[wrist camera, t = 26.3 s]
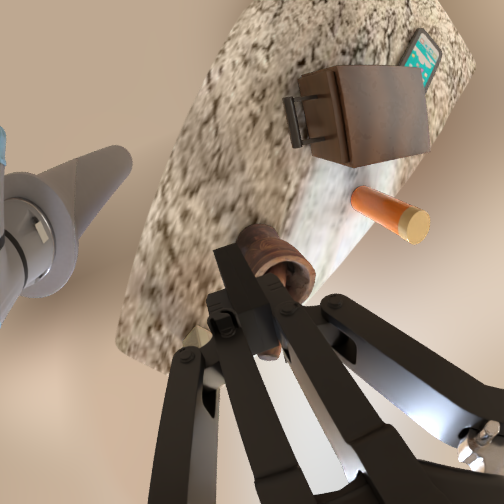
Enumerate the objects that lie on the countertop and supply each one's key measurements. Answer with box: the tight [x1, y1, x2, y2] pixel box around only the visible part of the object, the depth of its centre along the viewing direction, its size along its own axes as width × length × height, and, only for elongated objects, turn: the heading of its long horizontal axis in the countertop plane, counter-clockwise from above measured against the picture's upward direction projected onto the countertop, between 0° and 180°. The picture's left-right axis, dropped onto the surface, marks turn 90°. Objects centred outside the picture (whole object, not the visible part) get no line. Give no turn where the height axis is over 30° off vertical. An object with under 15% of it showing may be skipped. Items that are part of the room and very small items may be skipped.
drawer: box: [282, 71, 349, 164], centre depth 37 cm, size 19×12×9 cm, turn 102°
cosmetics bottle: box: [183, 325, 213, 348], centre depth 48 cm, size 5×4×10 cm
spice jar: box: [351, 185, 430, 244], centre depth 43 cm, size 5×5×15 cm
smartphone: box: [398, 28, 442, 94], centre depth 40 cm, size 9×1×15 cm
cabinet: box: [301, 65, 430, 168], centre depth 37 cm, size 16×14×11 cm
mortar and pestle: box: [236, 224, 316, 361], centre depth 40 cm, size 12×9×20 cm
